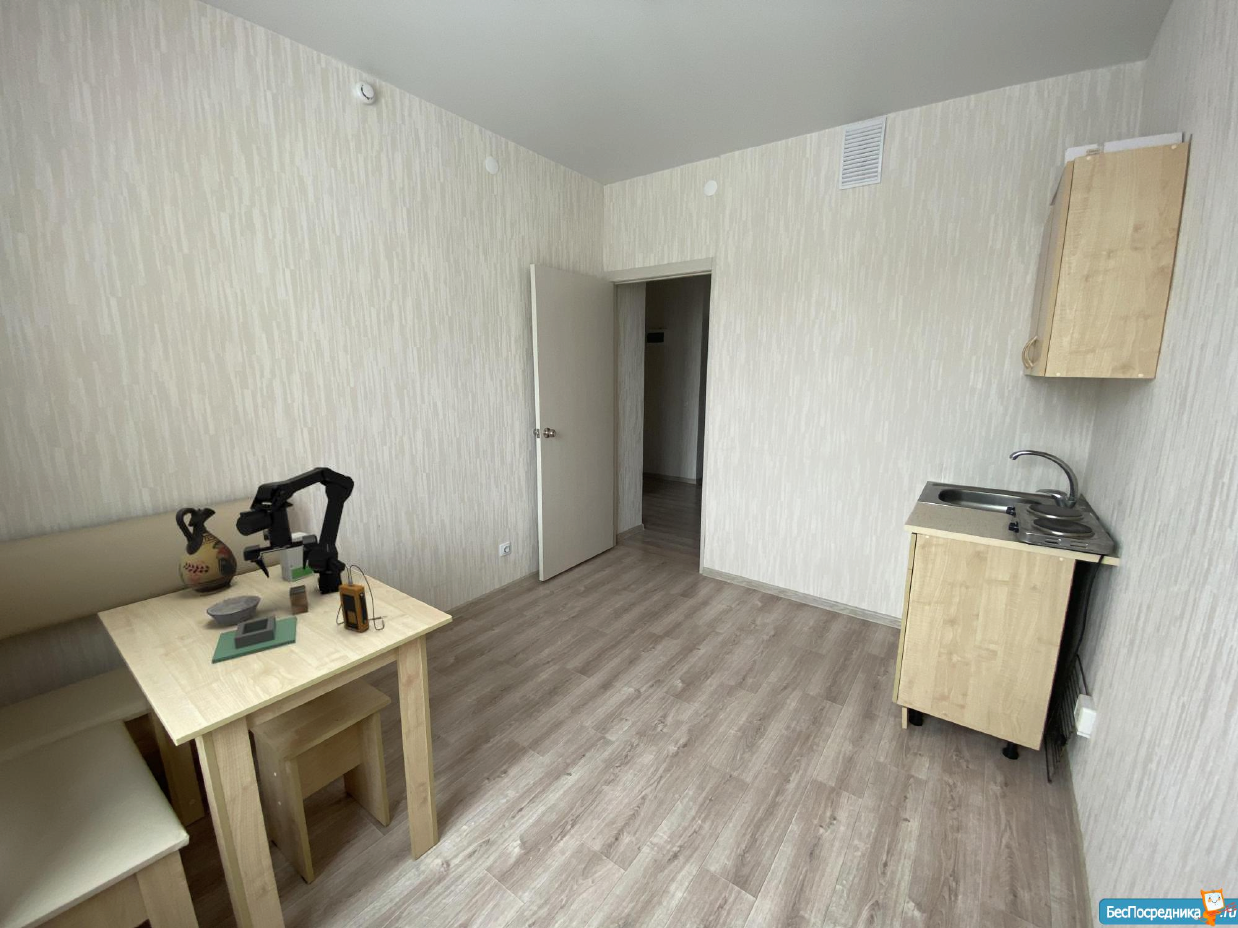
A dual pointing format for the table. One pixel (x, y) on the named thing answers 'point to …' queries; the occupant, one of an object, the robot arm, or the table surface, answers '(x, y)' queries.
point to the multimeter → (355, 605)
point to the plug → (298, 600)
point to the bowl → (234, 609)
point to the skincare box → (294, 561)
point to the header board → (255, 637)
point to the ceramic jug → (204, 555)
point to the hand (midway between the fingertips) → (286, 573)
